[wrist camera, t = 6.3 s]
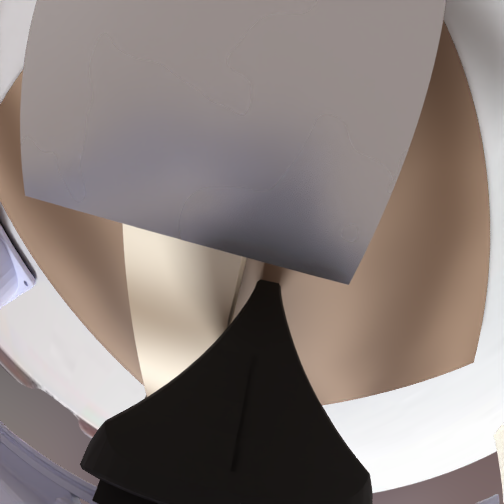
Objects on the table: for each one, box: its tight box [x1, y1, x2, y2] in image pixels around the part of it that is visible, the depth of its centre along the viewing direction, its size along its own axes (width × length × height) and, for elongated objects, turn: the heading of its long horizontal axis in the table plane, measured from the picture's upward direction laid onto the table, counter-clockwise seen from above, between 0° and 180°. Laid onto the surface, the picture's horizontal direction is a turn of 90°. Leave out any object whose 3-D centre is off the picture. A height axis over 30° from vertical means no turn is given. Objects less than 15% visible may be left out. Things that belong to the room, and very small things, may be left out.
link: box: [123, 224, 247, 398], centre depth 9 cm, size 16×4×4 cm, turn 169°
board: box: [0, 20, 490, 405], centre depth 11 cm, size 20×22×2 cm
